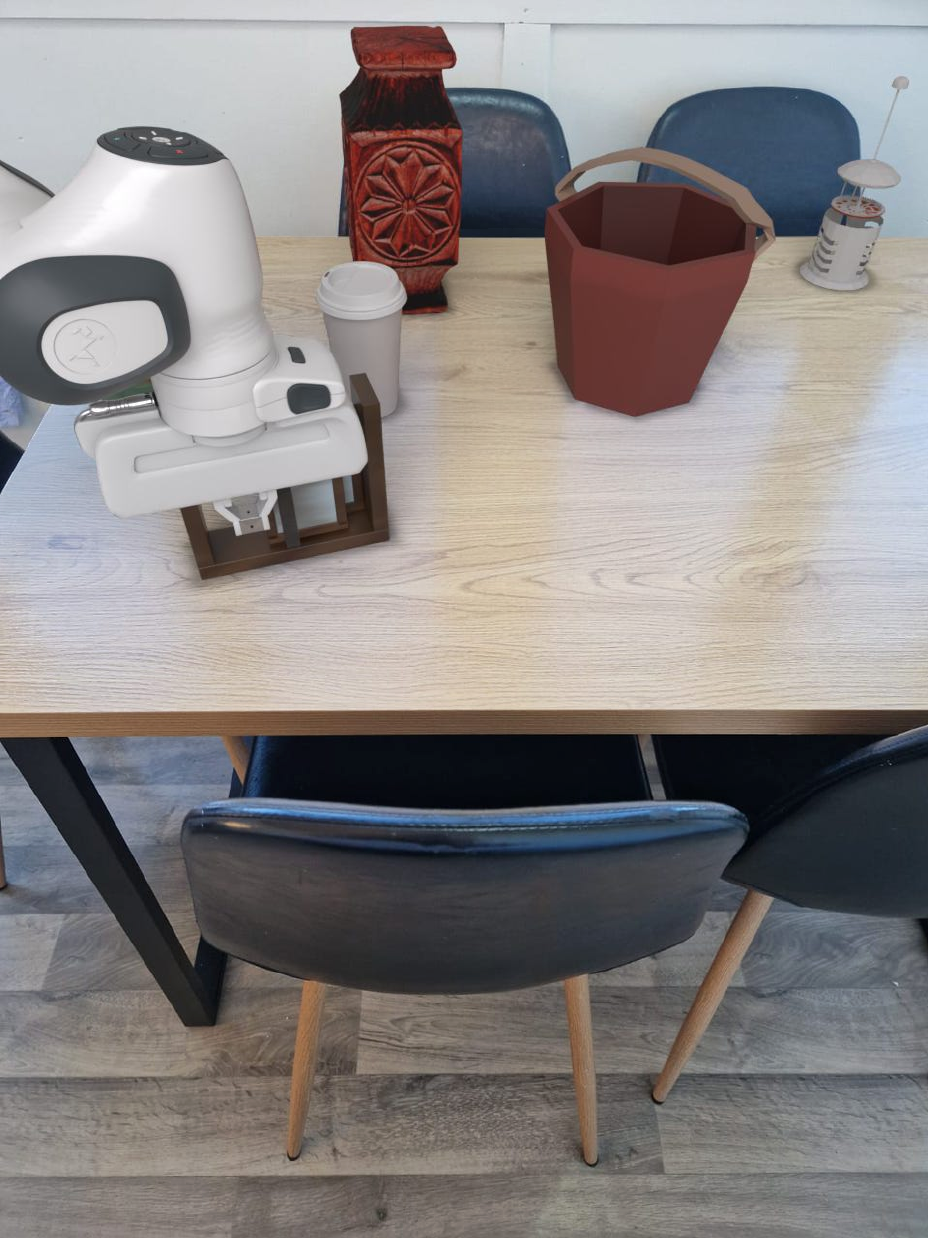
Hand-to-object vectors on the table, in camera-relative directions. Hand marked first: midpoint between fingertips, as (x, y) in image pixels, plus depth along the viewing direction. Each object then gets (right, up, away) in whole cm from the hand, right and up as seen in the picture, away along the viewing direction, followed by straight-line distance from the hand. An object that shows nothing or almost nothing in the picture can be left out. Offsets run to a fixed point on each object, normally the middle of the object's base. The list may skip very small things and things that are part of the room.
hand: (252, 528), depth 70 cm
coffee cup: (+7, +17, +27) cm, 33 cm away
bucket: (+37, +22, +32) cm, 54 cm away
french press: (+72, +43, +52) cm, 99 cm away
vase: (+10, +37, +45) cm, 59 cm away
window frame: (+1, 0, +11) cm, 11 cm away
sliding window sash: (+4, -1, +8) cm, 9 cm away
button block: (-18, +18, +27) cm, 37 cm away
